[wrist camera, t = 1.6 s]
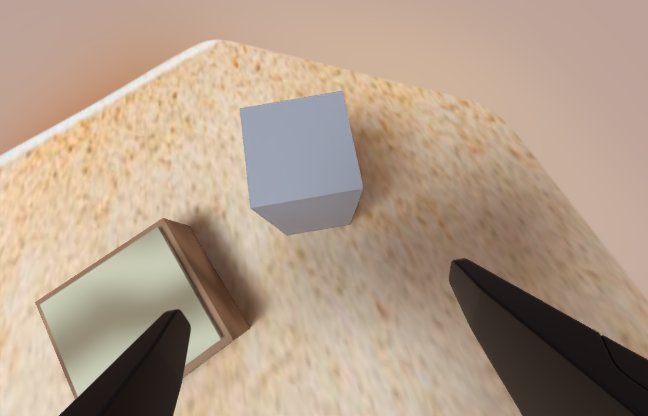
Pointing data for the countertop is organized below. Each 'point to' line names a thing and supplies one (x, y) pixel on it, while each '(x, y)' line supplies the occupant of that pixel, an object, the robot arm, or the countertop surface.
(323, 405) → the countertop surface
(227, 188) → the countertop surface
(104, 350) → the walnut base block
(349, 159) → the slate brick
